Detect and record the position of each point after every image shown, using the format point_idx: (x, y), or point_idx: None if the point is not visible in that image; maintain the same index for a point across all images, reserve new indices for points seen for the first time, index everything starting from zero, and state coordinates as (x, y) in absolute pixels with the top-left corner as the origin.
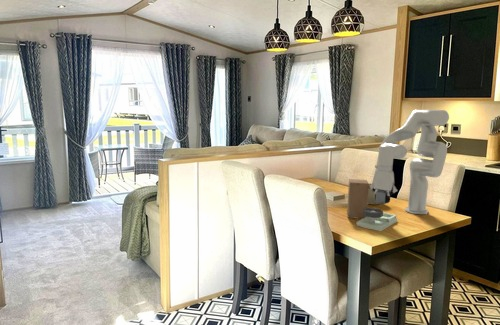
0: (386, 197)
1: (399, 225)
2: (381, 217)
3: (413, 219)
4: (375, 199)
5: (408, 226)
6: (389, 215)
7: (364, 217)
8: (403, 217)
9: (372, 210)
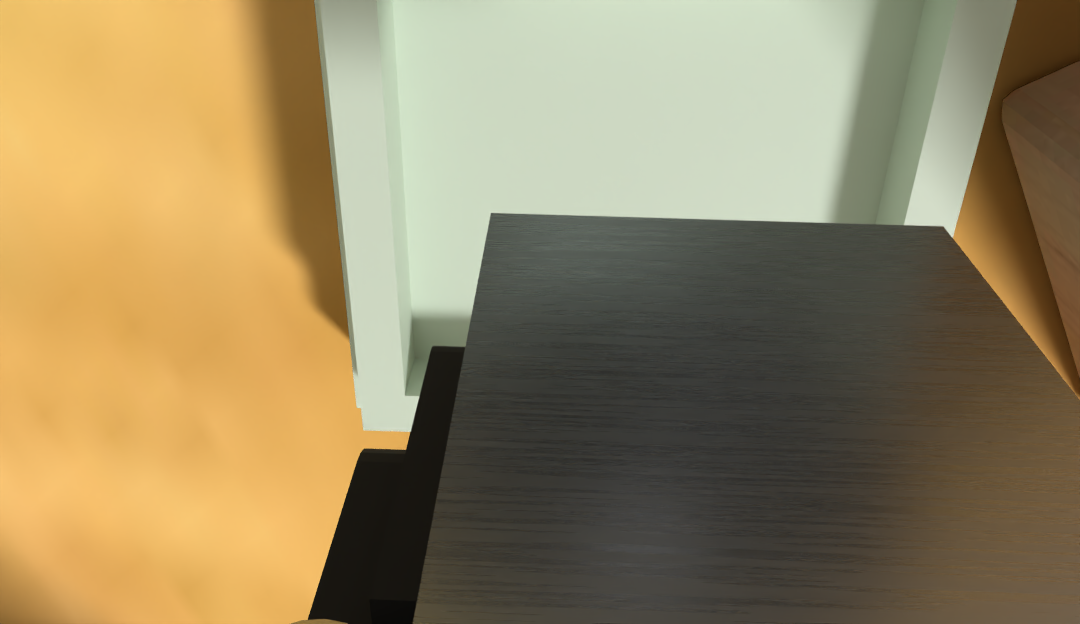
0: None
1: (202, 136)
2: (642, 205)
3: (227, 613)
4: None
5: (45, 197)
6: None
7: (1055, 77)
8: None
9: None
